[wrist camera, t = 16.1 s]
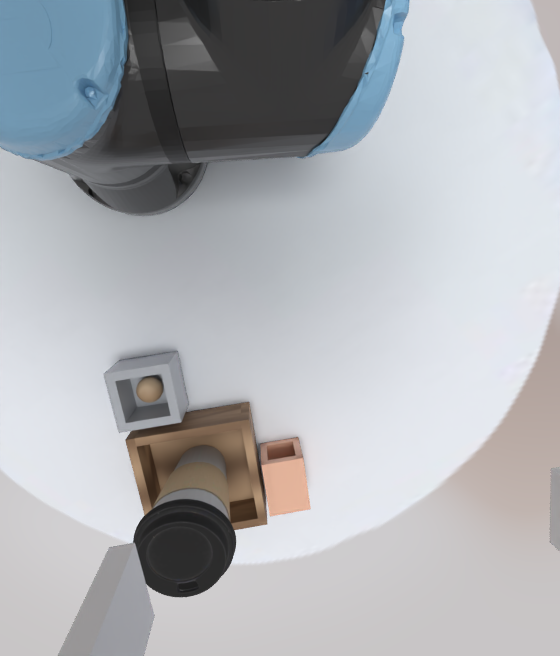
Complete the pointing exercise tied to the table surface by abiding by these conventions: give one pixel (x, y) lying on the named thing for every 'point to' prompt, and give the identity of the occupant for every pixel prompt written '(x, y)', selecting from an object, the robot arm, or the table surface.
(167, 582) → the coffee cup
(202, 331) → the table surface
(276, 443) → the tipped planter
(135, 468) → the walnut box
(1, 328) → the table surface
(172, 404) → the grey tub
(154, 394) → the cork ball
